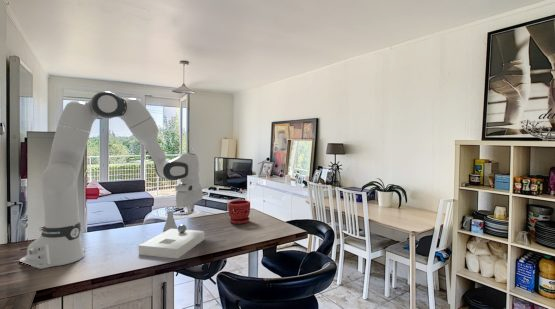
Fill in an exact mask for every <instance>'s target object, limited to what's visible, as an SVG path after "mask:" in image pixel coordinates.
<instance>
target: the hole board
mask: <svg viewBox="0 0 555 309" xmlns="http://www.w3.org/2000/svg"><path fill="white" fill-rule="evenodd" d="M204 240H205V231H204V230H196V229H195V230H193V229H186V231H185V232H184V233H179V232H178V229H169V230H167V231H162V232H161V233H160V234H157V235H156V236H154V237H152V238H150V239H148V240H146V241H143V242H142V243H140V244H138V256H139V255H140V256H148V257H157V258H158V257H159V258H165V259H166V258H168V259H179V258H181V257H183V255H185V254H186V253H188V252H189V251H190V250H192V249H193V248H194V247H195V246H197V245H199V244H200V243H201V242H203V241H204Z"/></svg>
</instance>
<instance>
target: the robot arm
mask: <svg viewBox="0 0 555 309" xmlns="http://www.w3.org/2000/svg"><path fill="white" fill-rule="evenodd" d="M113 118H120V119H121V120H122V121H123V123H125V125H126V127H127V128H128V129H129V131H130V132H131V133H132V135H133V136H134V137H135V138H136V140H138V142H140V143H141V145H142V146H143V147H144V148H145V150H146V152H147V153H148V155H149V156H150V158H151V160H152V161H153V163H154V170H155V174H156V175H157V176H158V177H159V178H161V179H163V180H164V179H165V180H167V181H177V180H180V182H179V183H178V184H177V185H176V186H175V188H174V189H175V190H174V191H175V192H176V194H175V204H176V207H177V208H178V209H179V208H180V209H184V208H185V209H186V210H187V214H192V213H194V212H195V207H196V206H195V205H196V203H197V202H199V201H201V200H203V197H204V196H203V187H202V186H201V184H200V177H199V172H200V164H199V163H200V162H199V157H198V155H197V154H195V153H191V152H181V154H179V155H178V156H176V157H174V158H169V157H168V156H166V154H165V152H164V150H163V149H162V146H161V145H160V144H159V142H158V133H159V128H158V125H157V123H156V121H155V119H154V117H153V116H152V115H151V113H150V111H149V110H148V109H147V108H146V106H145V105H144V104H143V103H142V102H141V101H140V99H137V98H135V97H134V98H133V97H131V98H127V99H124V98H123V97H121V96H119V95H118V94H115V93H114V92H112V91H106V90H103V91H98V92H97V93H95V94H94V95H93V96H92V97H91V98H90V99H89V100H88V101H87V102H83V101H77V100H76V101H70V102H68V103H66V105H65V107H64V108H63V110H62V112H61V114H60V117H59V120H58V123H57V126H56V130H55V133H54V137H53V141H52V143H51V148H50V152H49V153H50V154H49V159H48V164H47V167H46V168H45V169H44V170H43V171H42V174H41V178H40V181H41V190H42V199H43V205H44V206H43V207H44V226H42V227H39V231H42V232H41V233H40V234H41V235H40V236H39V237H38V238H36V239H35V240H33V241H32V242H31V243H30V244H29V245H28V246H27V249H26V250H27V251H26V255H25V256H23V257H21V258H19V259H18V262H19V261H20V262H23V263H26V264H29V265H31V266H30V267H32V268H37V269H39V270H41V269H47V268H50V267H57V266H63V265H69V264H72V263H74V262H78V261H79V260H81V259H83V258H84V257H85V255H86V254H85V248H84V245H83V238H82V234H81V231H82V230H81V229H82V226H81V221H80V205H79V204H80V202H79V189H78V188H79V186H78V182H79V180H78V179H79V175H80V171H81V168H82V164H83V160H84V157H85V153H86V149H87V146H88V143H89V142H88V141H89V138H90V134H91V130H92V127H93V124H94V122H95V121H96V120H110V119H113ZM23 263H22V264H23ZM26 264H25V265H26ZM29 265H28V266H29Z"/></svg>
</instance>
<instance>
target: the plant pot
mask: <svg viewBox="0 0 555 309" xmlns="http://www.w3.org/2000/svg"><path fill="white" fill-rule="evenodd" d="M227 211H228V215H229V221H230V223H232V224H238V225H241V224H242V225H243V224H247V223H248V222H249V221H250V217H249V216H250V213H251V201H249V200H243V199H242V200H241V199H239V200H232V201H228V203H227Z"/></svg>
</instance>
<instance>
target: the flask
mask: <svg viewBox="0 0 555 309" xmlns="http://www.w3.org/2000/svg"><path fill="white" fill-rule="evenodd" d="M166 214H167V217H166V221H165V223H164V226H163V230H162V232H165V231H167V230H169V229H178V225H177V224H176V222H175V218H174V211H173V210H168V211H167V212H166Z"/></svg>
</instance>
